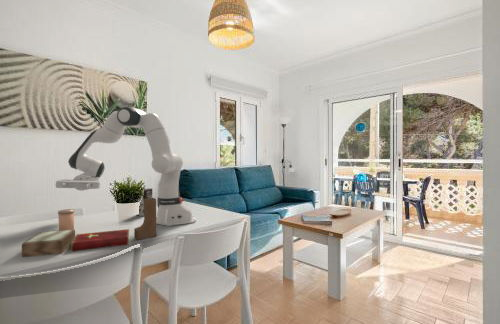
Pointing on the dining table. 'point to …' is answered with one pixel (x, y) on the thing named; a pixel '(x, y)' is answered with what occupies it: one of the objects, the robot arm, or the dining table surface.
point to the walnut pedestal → (48, 243)
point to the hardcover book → (100, 240)
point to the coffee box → (146, 195)
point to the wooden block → (147, 221)
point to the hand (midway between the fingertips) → (74, 186)
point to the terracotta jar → (66, 219)
